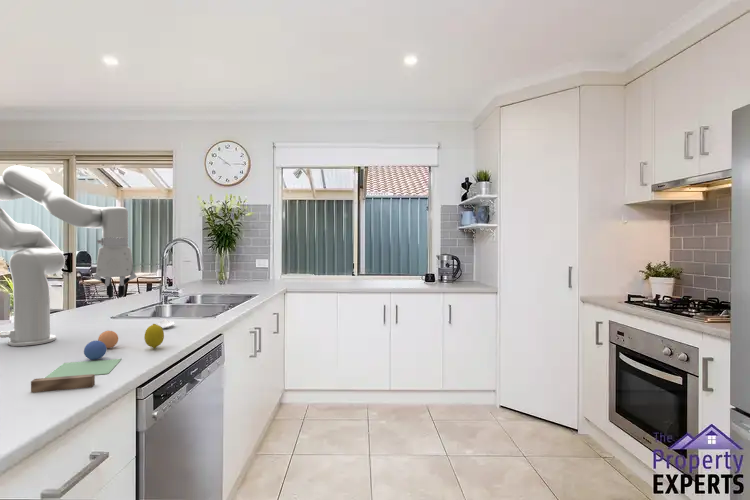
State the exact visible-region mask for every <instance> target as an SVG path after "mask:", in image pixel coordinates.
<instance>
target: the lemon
mask: <svg viewBox="0 0 750 500" xmlns="http://www.w3.org/2000/svg"><path fill="white" fill-rule="evenodd" d="M156 324H157V323H153V324H152V325H150V326H147V328H146V329H145V331H144V343H145V344H146V345H147V346H149V347H151V348H152V349H157V347H159V346H160V345H161V344H162V343H163V341H164V339H165V333H164V329H162V328H163V327H162V326H161V327H162V328H161V327H160V326H159V325H156Z"/></svg>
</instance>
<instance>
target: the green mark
mask: <svg viewBox="0 0 750 500" xmlns="http://www.w3.org/2000/svg"><path fill="white" fill-rule="evenodd" d="M121 361H122V358H118V359H117V358H115V359H103V360H102V359H101V360H100V359H98V360H89V361H87V360H85V361H71V362H64V363H62V364H61V365H59V366H58V367H57V368H56V369H55V370H53V371H51V372H50V373H49V374H47V375H46V376H45V377H44V378H51V377H64V376H77V375H89V374H95V376H101V375H109V374H110V373H111V372H112V371H113V370H114V369H115V367H116V366H117V365H118V364H119V363H120V362H121Z"/></svg>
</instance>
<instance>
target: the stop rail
mask: <svg viewBox="0 0 750 500" xmlns="http://www.w3.org/2000/svg"><path fill="white" fill-rule="evenodd" d="M95 377H96V375H95V374H89V375H77V376H64V377H51V378H45V377H42V378H40V377H39V378H33V380H31V381H30V393H41V392H51V391H62V390H63V391H64V390H75V389H76V390H77V389H86V388H93V387H94V386H95V384H96V383H95V379H96V378H95Z"/></svg>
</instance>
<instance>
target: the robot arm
mask: <svg viewBox="0 0 750 500" xmlns="http://www.w3.org/2000/svg"><path fill="white" fill-rule="evenodd" d="M24 198H28V199H29V200H32V201H34V202H35V203H37V204H38V205H40V206H43V207H44V209H45V210H47V212H48V213H49V214H51V215H52V216H54V217H56V218H58V219H59V220H61V221H63V222H64V223H67V224H69V225H71V226H72V227H75V228H80V229H81V228H82V229H83V228H84V229H85V228H86V229H101V230H102V231H101V238H100V239H97V241H96V243H97V244H98V245H99V244H100V245H101V246H102V247H99V248H98V251H97V260H96V272H95V274H94V276H93V279H94V280H95V281H100V282H101V283H102V284H104V285H105V287H106V296H108V299H112V298H113V297H114V286H113V284H112V278H119V283H118V286H117V298H119V299H121V298H122V297H124V295H125V285H127V283H128V282H130V281H132V280H135V279H136V278H137V274H136V272H135V271H134V263H133V256H132V249H131V247H129V210H128V209H127V208H126V207H124V206H105V207H104V206H103V207H102V206H95V205H89V204H82V203H80V202H79V201H77V200H74V199H72V198H71V197H69V196H67V195H65V194H64V188H63V187H62V186H61V184H58V183H56V182H55V181H53V180H51V179H50V177H49V176H48V174H46V172H44V171H43V170H40V169H37V168H33V167H29V166H25V165H11V166H9V167H7V168H6V169H5V170H4V171H3V172H2V175H1V176H0V202H8V201H14V200H18V199H19V200H21V199H24ZM0 250H1V251H4V252H14V253H13V254H12V255H11V256H10V259H9V263H8V265H9V270H10V275H11V280H12V292H13V294H12V295H13V329H12V330H3V331H0V338H3V339H5V338H9V339H8V340H7V345H8V346H11V347H25V346H26V347H27V346H35V345H41V344H47V343H51V342H53V341H55V340H56V339H57V336H56V335H55V334H51V302H50V301H51V300H50V299H51V291H50V285H49V281H48V278H47V275H53V274H56V273H58V272H60V271H62V269H63V268H64V267H65V265H66V259H65V256H64V254H63V252H62V251H61V249H60V248H59V247H58V246H57V245H56V244H55V243H54V242H53V240H51V239H50V237H49V236H48V235H47V234H46V233H45V232H44V231H43V230H42V229H41V228H39V227H38V226H36V225H33V224H30V223H19V222H16V221H15V220H14V219H13V218H12V217H11V216H10V215H9V214H8V213H7V212H6V210H5V209H4V208H2V207H1V206H0Z"/></svg>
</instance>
